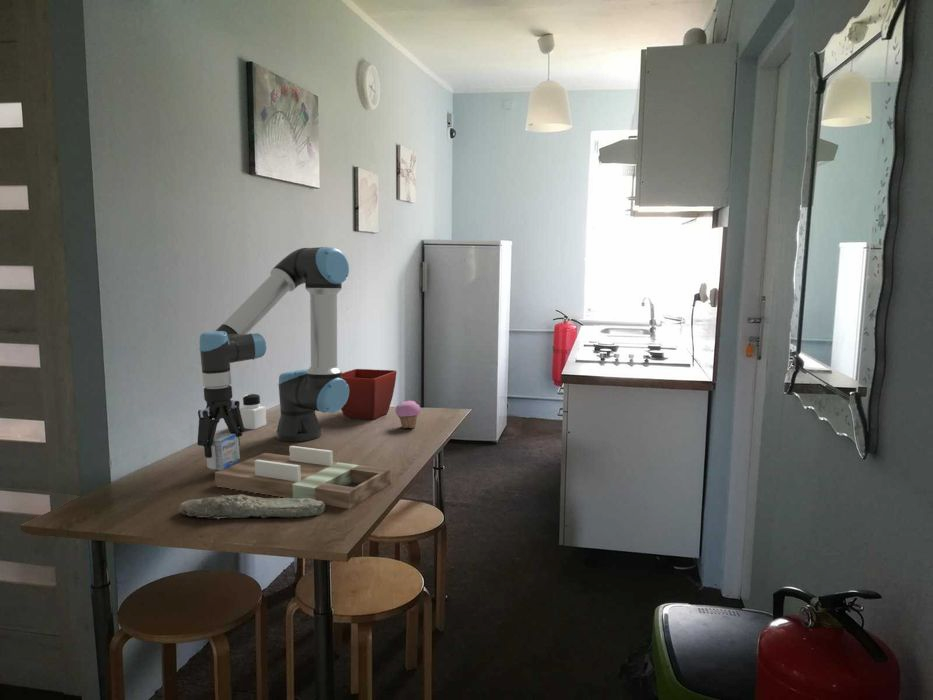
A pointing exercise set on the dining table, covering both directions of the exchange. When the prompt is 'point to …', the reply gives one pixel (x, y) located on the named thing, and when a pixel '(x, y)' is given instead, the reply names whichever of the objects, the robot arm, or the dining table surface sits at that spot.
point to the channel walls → (292, 470)
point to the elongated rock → (251, 507)
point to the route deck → (309, 481)
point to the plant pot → (368, 392)
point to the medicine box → (225, 451)
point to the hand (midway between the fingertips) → (224, 462)
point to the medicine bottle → (253, 412)
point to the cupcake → (408, 413)
